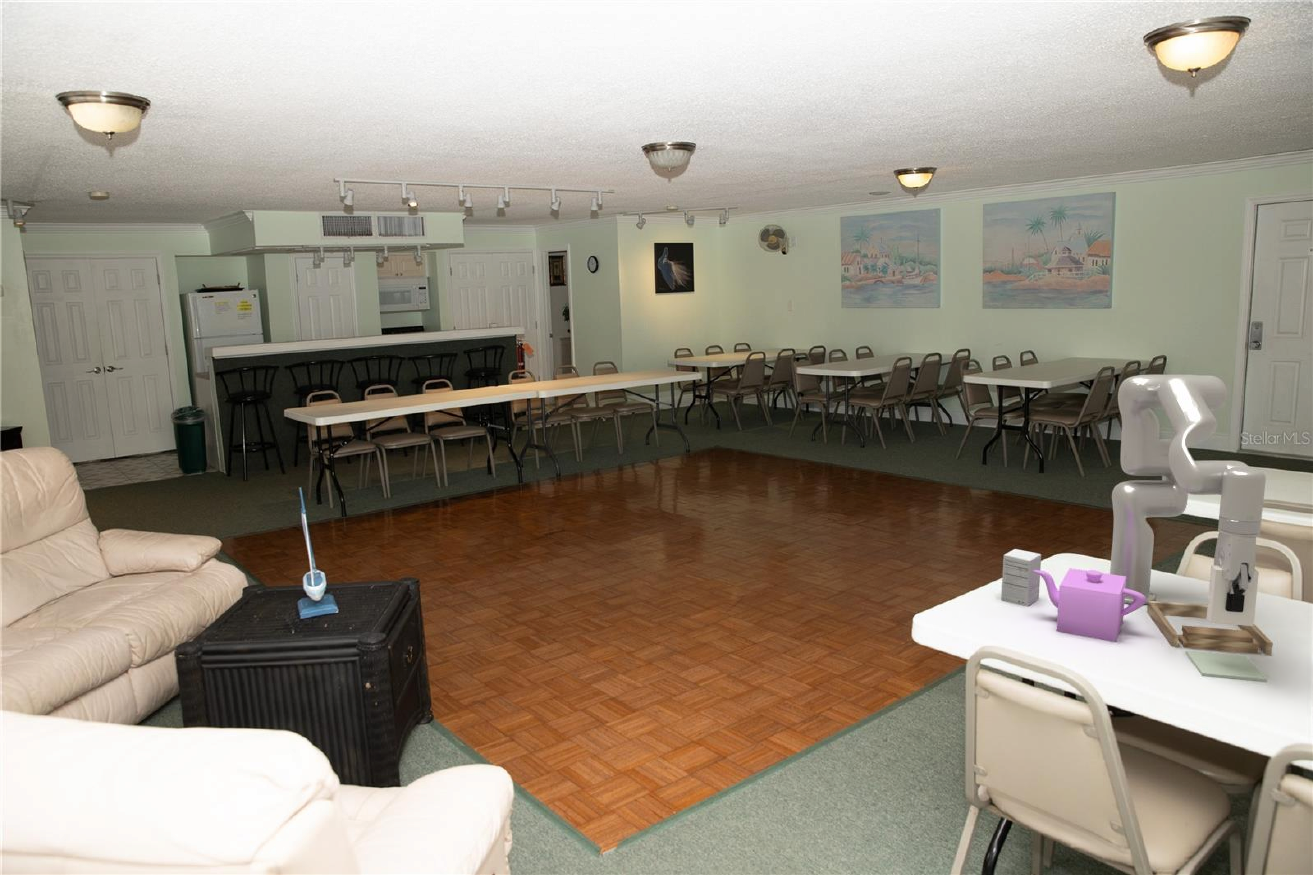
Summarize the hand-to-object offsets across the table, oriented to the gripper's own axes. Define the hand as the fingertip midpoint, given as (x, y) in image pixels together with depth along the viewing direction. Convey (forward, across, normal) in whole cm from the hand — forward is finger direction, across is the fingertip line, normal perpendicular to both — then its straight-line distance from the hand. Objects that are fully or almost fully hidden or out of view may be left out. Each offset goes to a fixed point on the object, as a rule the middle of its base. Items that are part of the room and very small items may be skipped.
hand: (1231, 607), depth 189 cm
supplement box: (+14, -33, -38) cm, 52 cm away
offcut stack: (+14, -12, +2) cm, 18 cm away
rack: (+14, -20, +2) cm, 24 cm away
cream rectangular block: (+3, 0, 0) cm, 3 cm away
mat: (+14, 0, 0) cm, 14 cm away
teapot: (+14, -19, -25) cm, 34 cm away
